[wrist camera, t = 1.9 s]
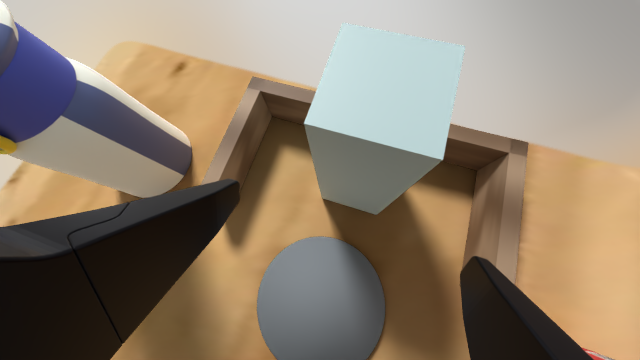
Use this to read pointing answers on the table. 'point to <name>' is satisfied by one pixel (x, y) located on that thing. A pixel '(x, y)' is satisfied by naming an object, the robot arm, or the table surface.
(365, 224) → the table surface
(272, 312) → the coaster
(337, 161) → the block
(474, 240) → the u-shaped wooden frame
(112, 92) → the blue striped jug
